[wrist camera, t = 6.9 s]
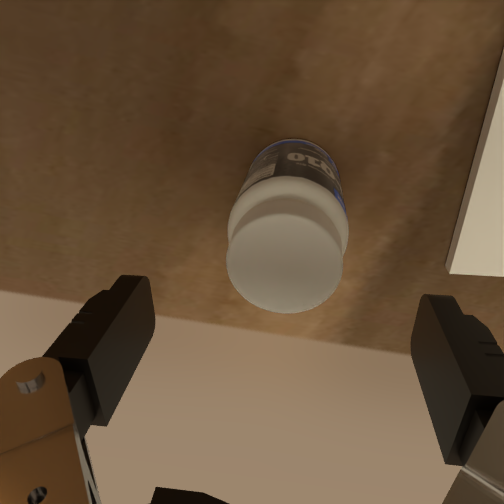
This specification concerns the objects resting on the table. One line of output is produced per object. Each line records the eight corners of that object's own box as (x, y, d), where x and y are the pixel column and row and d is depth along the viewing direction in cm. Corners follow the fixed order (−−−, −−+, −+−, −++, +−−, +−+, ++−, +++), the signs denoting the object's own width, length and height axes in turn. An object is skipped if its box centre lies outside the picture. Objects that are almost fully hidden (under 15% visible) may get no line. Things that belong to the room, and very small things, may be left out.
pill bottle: (359, 182, 20) (387, 271, 13) (292, 239, 22) (284, 344, 15) (292, 115, 19) (282, 173, 12) (228, 182, 21) (187, 266, 14)
